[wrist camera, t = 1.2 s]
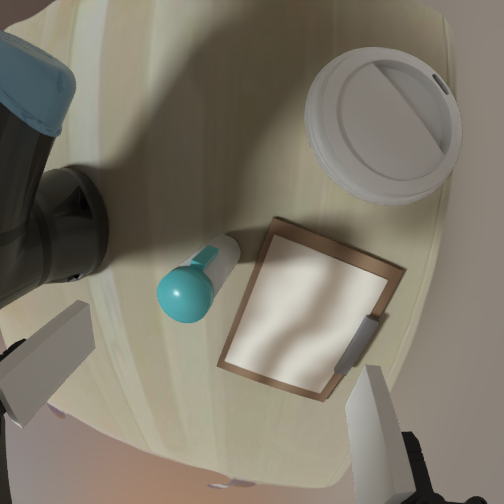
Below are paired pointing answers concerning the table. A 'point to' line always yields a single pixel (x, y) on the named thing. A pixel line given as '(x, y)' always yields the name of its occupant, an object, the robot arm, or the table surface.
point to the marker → (198, 280)
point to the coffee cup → (383, 125)
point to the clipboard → (306, 312)
